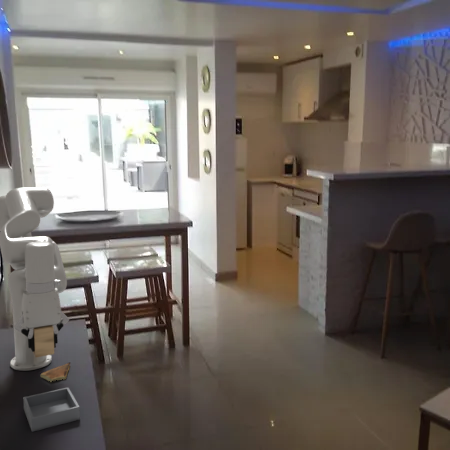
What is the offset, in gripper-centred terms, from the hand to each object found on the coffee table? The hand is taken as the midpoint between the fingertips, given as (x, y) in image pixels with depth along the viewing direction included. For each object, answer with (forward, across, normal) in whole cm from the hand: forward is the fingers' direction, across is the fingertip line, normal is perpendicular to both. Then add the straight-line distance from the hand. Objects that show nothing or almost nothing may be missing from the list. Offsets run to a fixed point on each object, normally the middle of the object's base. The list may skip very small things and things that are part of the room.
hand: (43, 347), depth 142 cm
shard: (+14, -5, -10) cm, 18 cm away
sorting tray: (+13, +1, +14) cm, 19 cm away
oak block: (+2, 0, 0) cm, 2 cm away
